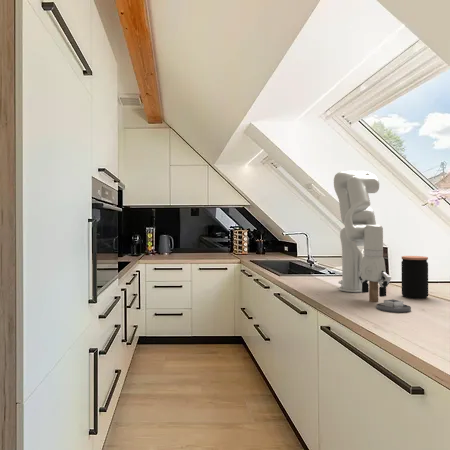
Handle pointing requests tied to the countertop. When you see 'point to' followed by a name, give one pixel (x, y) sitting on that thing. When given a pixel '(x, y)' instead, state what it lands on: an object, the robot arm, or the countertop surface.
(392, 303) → the round metal socket base
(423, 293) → the coffee jar
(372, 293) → the tan wooden beam
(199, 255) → the countertop surface
